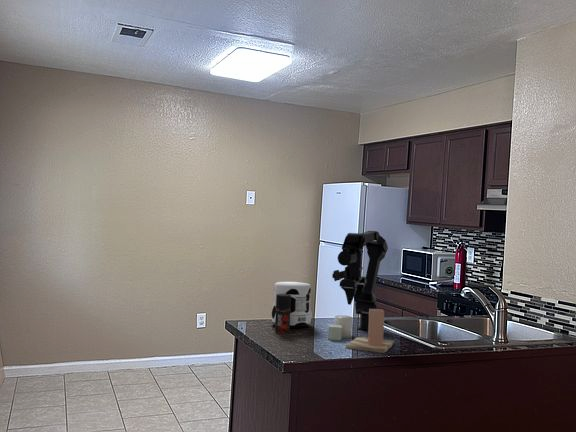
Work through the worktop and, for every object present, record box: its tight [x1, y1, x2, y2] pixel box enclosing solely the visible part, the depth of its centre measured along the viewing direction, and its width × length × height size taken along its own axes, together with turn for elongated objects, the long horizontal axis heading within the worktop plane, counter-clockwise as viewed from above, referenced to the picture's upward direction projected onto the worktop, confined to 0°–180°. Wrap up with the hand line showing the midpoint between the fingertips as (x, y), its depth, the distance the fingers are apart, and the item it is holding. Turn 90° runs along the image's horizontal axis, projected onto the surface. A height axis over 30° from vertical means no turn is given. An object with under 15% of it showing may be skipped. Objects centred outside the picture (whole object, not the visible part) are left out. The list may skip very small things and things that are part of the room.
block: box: [327, 324, 343, 341], centre depth 216 cm, size 5×5×5 cm
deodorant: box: [274, 294, 291, 335], centre depth 224 cm, size 6×6×15 cm
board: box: [345, 336, 395, 354], centre depth 205 cm, size 16×14×1 cm
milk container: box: [270, 281, 313, 329], centre depth 237 cm, size 17×17×18 cm
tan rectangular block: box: [367, 308, 385, 346], centre depth 204 cm, size 5×5×12 cm
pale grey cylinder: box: [333, 314, 353, 338], centre depth 222 cm, size 7×7×8 cm
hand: (352, 303), depth 223 cm, fingers open, 9 cm apart
